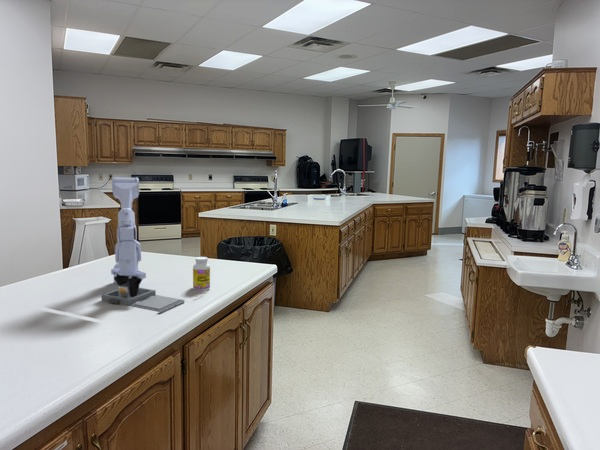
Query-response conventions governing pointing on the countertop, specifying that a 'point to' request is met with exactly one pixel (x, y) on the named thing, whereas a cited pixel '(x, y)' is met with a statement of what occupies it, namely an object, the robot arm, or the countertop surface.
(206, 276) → the supplement bottle
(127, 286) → the block
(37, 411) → the countertop surface
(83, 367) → the countertop surface
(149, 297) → the case
